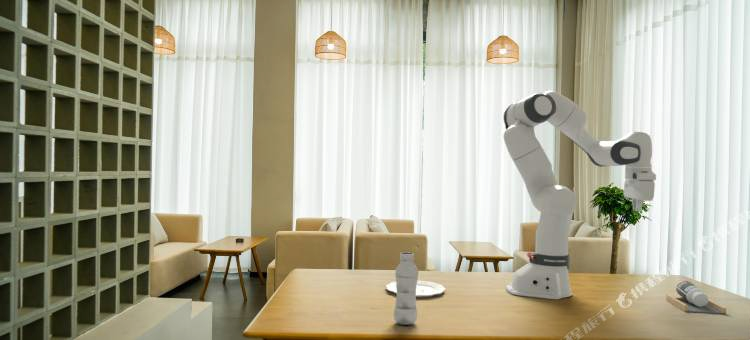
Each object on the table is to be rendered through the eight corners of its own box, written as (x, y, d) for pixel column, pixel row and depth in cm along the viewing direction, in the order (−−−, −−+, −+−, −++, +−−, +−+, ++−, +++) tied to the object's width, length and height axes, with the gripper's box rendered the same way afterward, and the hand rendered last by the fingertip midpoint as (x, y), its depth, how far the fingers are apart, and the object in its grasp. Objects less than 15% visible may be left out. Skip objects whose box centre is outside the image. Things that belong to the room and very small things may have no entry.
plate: (374, 289, 172) (374, 284, 172) (417, 281, 185) (417, 277, 185) (412, 303, 156) (412, 298, 156) (457, 294, 168) (457, 289, 168)
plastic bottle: (392, 320, 138) (393, 251, 137) (415, 320, 138) (416, 251, 138) (395, 327, 131) (396, 255, 131) (419, 327, 132) (420, 255, 132)
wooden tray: (684, 311, 151) (684, 305, 151) (665, 299, 165) (665, 294, 165) (725, 314, 149) (726, 308, 149) (703, 302, 163) (703, 296, 163)
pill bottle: (690, 296, 165) (708, 309, 155) (673, 294, 165) (690, 307, 156) (693, 280, 164) (711, 293, 154) (676, 279, 164) (693, 291, 154)
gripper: (619, 174, 192) (618, 208, 192) (639, 175, 172) (638, 213, 172) (636, 174, 191) (635, 208, 191) (658, 175, 171) (657, 214, 171)
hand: (637, 211), depth 181 cm, fingers closed
